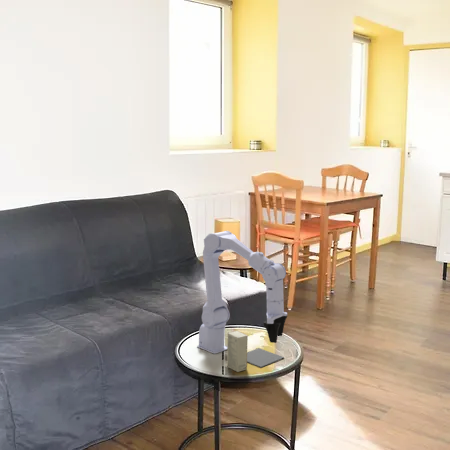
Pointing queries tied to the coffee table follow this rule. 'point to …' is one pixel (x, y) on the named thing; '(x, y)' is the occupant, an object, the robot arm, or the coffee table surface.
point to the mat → (262, 357)
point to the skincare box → (237, 351)
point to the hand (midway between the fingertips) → (276, 339)
